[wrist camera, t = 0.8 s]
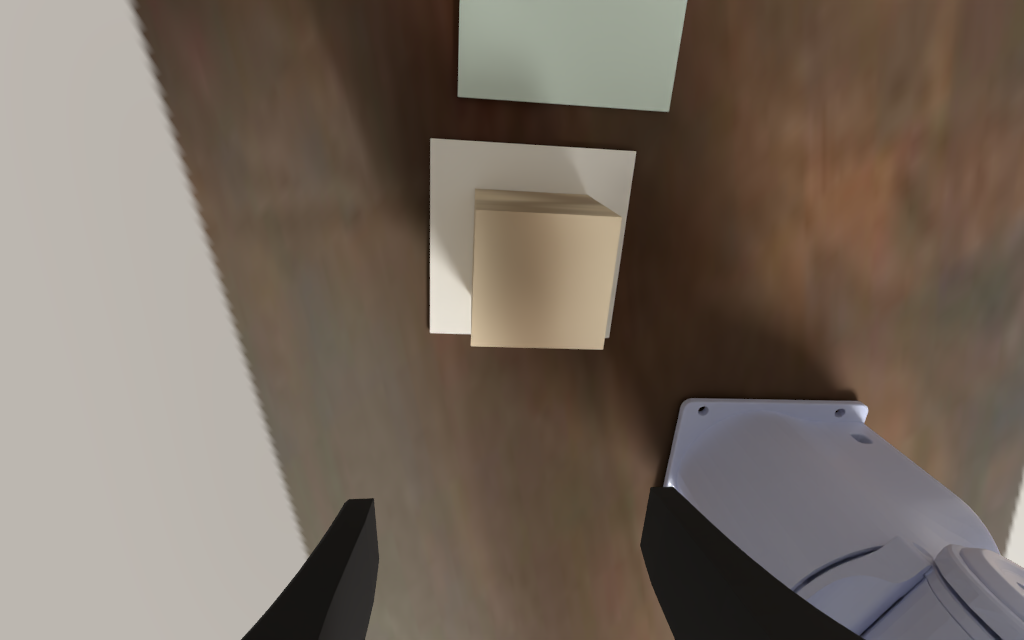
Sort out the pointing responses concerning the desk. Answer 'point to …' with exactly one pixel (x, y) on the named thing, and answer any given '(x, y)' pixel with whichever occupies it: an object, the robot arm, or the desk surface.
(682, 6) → the sage coaster
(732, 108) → the desk surface
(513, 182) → the tile
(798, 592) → the robot arm
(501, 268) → the maple block
